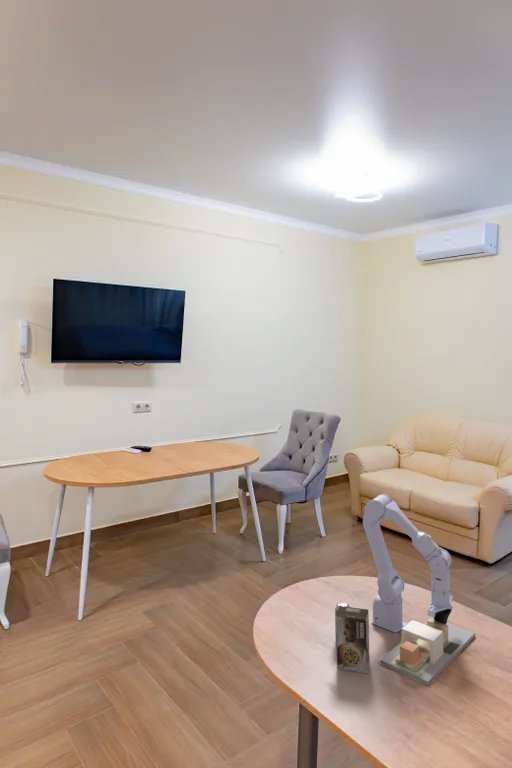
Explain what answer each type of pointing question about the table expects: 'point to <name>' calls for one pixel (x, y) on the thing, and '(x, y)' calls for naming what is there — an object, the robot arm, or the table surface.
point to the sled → (425, 646)
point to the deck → (429, 671)
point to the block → (409, 653)
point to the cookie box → (352, 639)
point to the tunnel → (424, 637)
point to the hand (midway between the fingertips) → (440, 630)
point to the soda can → (336, 613)
